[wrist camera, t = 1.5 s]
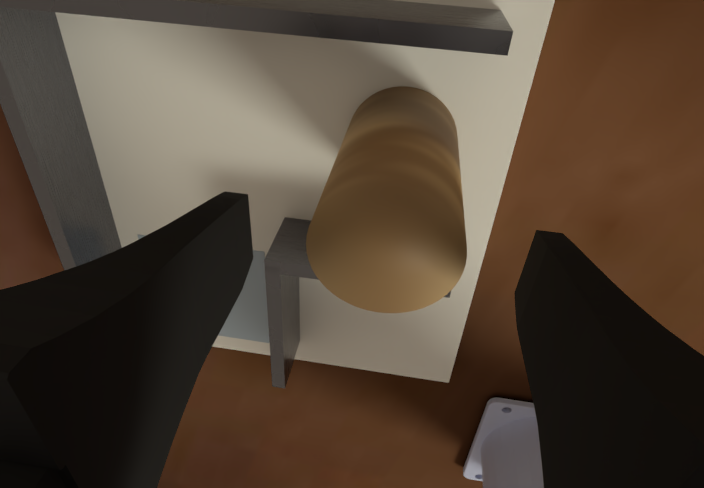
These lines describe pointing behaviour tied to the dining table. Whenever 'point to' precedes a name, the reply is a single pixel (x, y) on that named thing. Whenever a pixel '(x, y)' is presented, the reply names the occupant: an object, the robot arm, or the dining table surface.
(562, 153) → the dining table surface
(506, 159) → the track board
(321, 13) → the metal rails
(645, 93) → the dining table surface
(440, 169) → the oak dowel
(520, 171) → the dining table surface
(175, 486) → the dining table surface
